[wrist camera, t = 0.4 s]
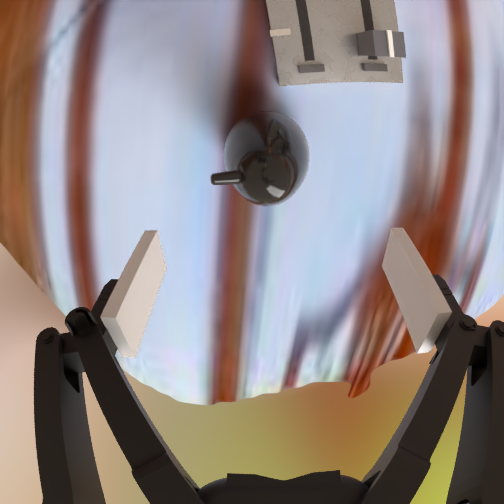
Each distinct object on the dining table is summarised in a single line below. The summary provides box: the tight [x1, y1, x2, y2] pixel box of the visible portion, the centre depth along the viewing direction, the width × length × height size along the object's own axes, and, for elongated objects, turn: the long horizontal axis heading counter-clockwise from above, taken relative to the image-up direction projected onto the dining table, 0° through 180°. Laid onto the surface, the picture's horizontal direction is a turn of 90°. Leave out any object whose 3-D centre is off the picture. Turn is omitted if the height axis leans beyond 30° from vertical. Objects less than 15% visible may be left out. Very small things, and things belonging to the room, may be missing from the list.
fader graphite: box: [357, 30, 406, 58], centre depth 26 cm, size 3×4×6 cm
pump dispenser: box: [211, 111, 309, 206], centre depth 34 cm, size 10×10×15 cm
